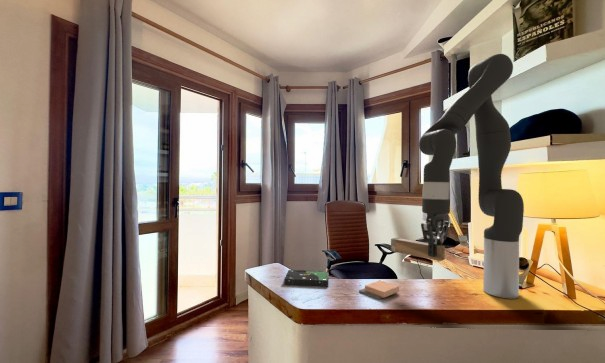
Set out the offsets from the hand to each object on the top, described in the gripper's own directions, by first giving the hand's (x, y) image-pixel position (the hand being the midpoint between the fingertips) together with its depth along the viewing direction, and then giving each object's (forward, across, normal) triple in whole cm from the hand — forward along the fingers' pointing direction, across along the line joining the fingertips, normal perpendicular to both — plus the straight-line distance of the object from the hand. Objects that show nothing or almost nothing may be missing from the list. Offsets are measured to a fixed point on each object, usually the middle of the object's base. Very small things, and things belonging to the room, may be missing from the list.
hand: (435, 255), depth 84 cm
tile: (+12, -8, +9) cm, 17 cm away
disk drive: (+14, -19, +36) cm, 43 cm away
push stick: (+1, 0, +6) cm, 6 cm away
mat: (+13, -8, +14) cm, 21 cm away
